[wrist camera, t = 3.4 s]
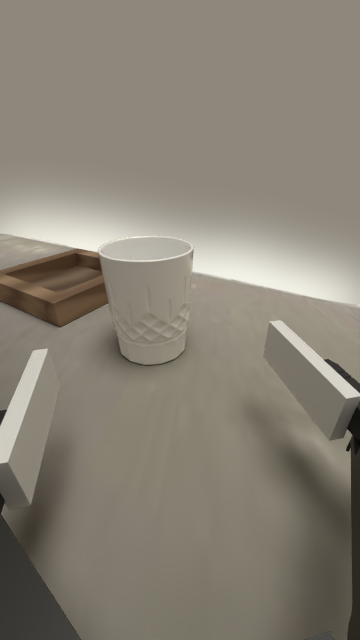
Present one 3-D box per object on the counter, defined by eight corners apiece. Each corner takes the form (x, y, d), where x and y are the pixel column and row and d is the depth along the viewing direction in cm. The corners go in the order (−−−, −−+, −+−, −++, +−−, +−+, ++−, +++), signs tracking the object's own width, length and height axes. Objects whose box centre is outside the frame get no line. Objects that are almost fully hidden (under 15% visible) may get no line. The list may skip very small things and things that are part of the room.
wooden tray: (-12, 295, 38) (-20, 275, 37) (80, 264, 50) (77, 248, 48) (60, 327, 31) (53, 303, 29) (148, 282, 42) (147, 263, 41)
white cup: (99, 344, 28) (80, 246, 23) (158, 317, 32) (153, 231, 27) (145, 382, 23) (135, 268, 18) (208, 345, 27) (213, 246, 22)
